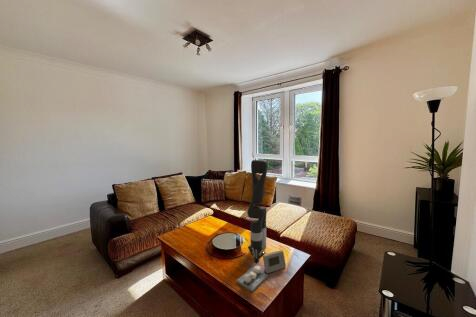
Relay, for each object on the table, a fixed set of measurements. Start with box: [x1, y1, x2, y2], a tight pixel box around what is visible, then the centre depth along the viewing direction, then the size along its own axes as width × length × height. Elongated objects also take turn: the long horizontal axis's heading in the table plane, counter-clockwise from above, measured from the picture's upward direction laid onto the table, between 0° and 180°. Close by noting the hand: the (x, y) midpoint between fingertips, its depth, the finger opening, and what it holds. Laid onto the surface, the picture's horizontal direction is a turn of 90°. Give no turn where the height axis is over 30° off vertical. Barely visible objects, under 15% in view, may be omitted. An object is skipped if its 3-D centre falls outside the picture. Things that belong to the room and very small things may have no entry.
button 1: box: [243, 273, 251, 285], centre depth 119 cm, size 5×5×3 cm
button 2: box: [249, 272, 256, 281], centre depth 123 cm, size 5×5×3 cm
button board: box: [236, 266, 269, 293], centre depth 123 cm, size 12×16×2 cm
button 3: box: [253, 265, 262, 276], centre depth 127 cm, size 5×5×3 cm
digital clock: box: [262, 249, 287, 274], centre depth 133 cm, size 16×9×11 cm, turn 102°
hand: (256, 262), depth 126 cm, fingers closed
